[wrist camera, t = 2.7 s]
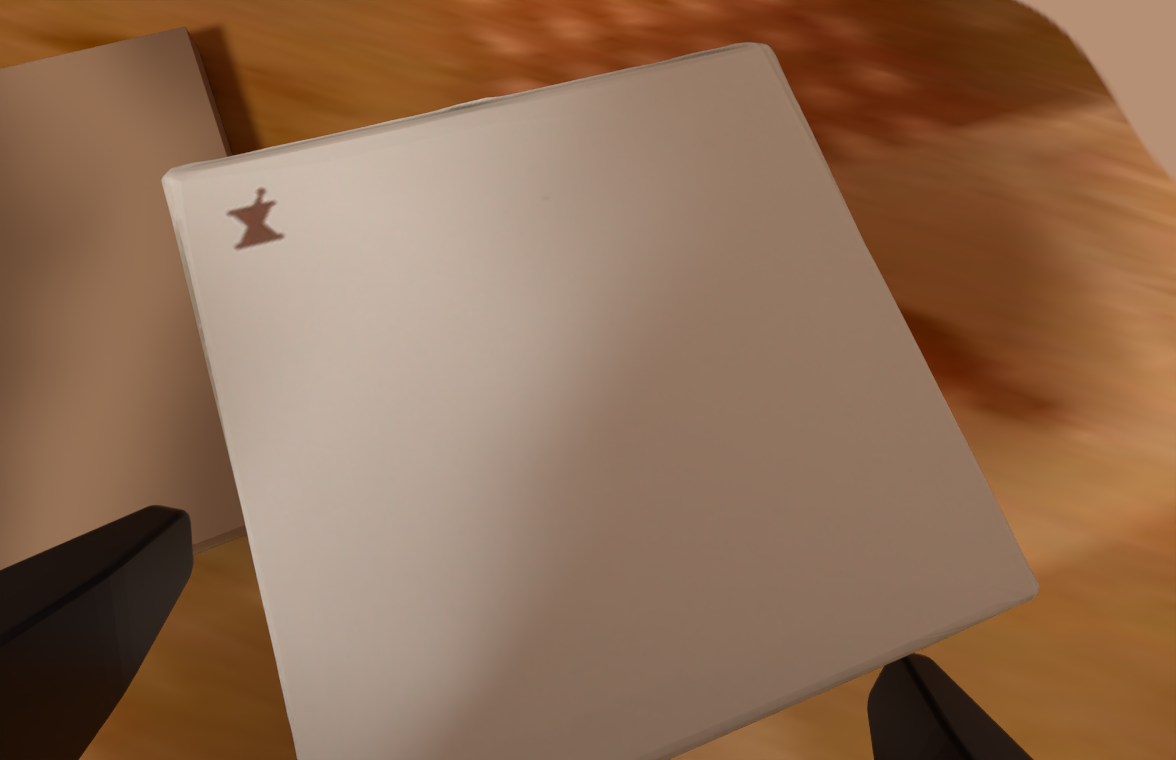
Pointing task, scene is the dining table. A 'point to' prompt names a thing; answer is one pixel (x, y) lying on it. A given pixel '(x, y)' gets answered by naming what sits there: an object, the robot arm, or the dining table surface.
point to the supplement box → (577, 421)
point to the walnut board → (104, 298)
